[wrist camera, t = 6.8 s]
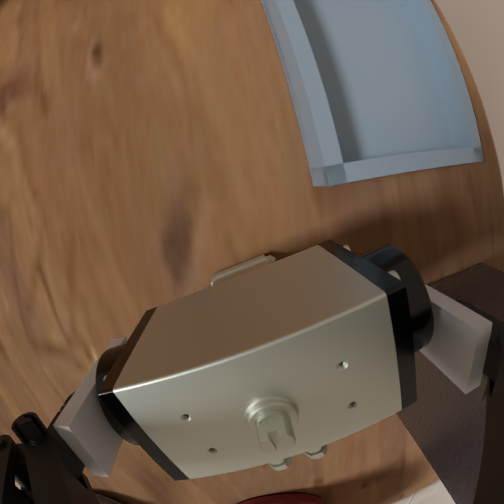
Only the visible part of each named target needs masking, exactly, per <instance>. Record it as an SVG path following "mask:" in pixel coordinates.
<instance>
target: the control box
mask: <svg viewBox="0 0 504 504" xmlns="http://www.w3.org/2000/svg"><path fill="white" fill-rule="evenodd" d="M428 286H430V287H431V288H433V289H435V290H437V291H439V292H440V293H442V294H444V295H446V296H448V297H449V298H451V299H453V300H456V299H457V300H461V301H465V302H468V303H470V304H471V305H473V306H475V308H476V307H477V308H479V309H480V310H481V311H484V312H486V313H487V314H489V315H491V316H493V317H494V318H496V319H498V320H499V321H501V322H503V321H504V272H502V271H500V270H497V269H495V268H492V267H490V266H487V265H485V264H482V263H479V264H477V265H475V266H473V267H470V268H468V269H466V270H463V271H461V272H458V273H456V274H454V275H451V276H449V277H446V278H444V279H441V280H439V281H436V282H433V283H431V284H428ZM414 354H415V367H416V386H417V402H415V403H413V404H411V405H410V406H408V407H406V408H404V409H402V410H401V411H399V412H397V413H396V414H397V415H398V417H399V418H400V420H401V421H402V422H403V424H404V425H405V427H406V428H407V430H408V431H409V433H410V434H411V436H412V437H413V439H414V440H415V442H416V443H417V445H418V446H419V448H420V449H421V451H422V452H423V454H424V455H425V457H426V458H427V460H428V461H429V463H430V464H431V466H432V467H433V469H434V470H435V472H436V473H437V475H438V477H439V478H440V480H441V481H442V483H443V484H444V486H445V487H446V489H447V490H448V492H449V494H450V495H451V497H452V498H453V500H454V502H455V503H456V504H473V501H474V497H475V492H476V488H477V483H478V478H479V472H480V466H481V460H482V452H483V444H484V434H485V422H486V397H487V395H486V397H485V399H482V398H483V395H484V392H485V388H486V385H487V381H488V377H487V376H486V375H485V374H484V373H483V374H482V378H481V382H480V386H478V387H476V388H475V389H473V390H472V391H470V392H469V393H467V394H464V393H463V392H462V391H461V390H460V389H459V388H458V387H457V386H456V385H455V384H454V383H453V382H452V381H451V380H450V379H449V378H448V377H447V376H446V375H445V374H444V373H443V372H442V371H441V370H440V369H439V368H438V367H437V366H435V365H434V364H433V363H432V362H431V361H430V360H429V359H428V358H427V357H426V356H425V355H424V354H423V353H422V352H421V351H420V350H419V351H417V352H415V353H414Z"/></svg>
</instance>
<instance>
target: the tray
mask: <svg viewBox="0 0 504 504" xmlns="http://www.w3.org/2000/svg"><path fill="white" fill-rule="evenodd" d="M261 2H262V5H263V8H264V11H265V14H266V16H267V19H268V22H269V25H270V28H271V31H272V34H273V37H274V40H275V43H276V46H277V49H278V53H279V56H280V59H281V62H282V66H283V69H284V72H285V76H286V79H287V82H288V86H289V89H290V93H291V97H292V100H293V104H294V108H295V111H296V115H297V119H298V123H299V127H300V131H301V135H302V139H303V143H304V147H305V151H306V156H307V160H308V164H309V169H310V173H311V178H312V182H313V186H333V185H338V184H343V183H348V182H353V181H359V180H364V179H370V178H375V177H381V176H387V175H392V174H398V173H404V172H410V171H417V170H423V169H430V168H436V167H443V166H451V165H458V164H465V163H473V162H481V161H484V159H483V153H482V147H481V142H480V137H479V132H478V128H477V123H476V119H475V115H474V111H473V107H472V103H471V100H470V96H469V93H468V90H467V86H466V83H465V80H464V77H463V74H462V71H461V68H460V66H459V63H458V60H457V57H456V55H455V52H454V50H453V47H452V45H451V42H450V40H449V38H448V35H447V33H446V31H445V29H444V27H443V24H442V22H441V20H440V18H439V16H438V14H437V12H436V10H435V8H434V6H433V4H432V2H431V1H430V0H261Z"/></svg>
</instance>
